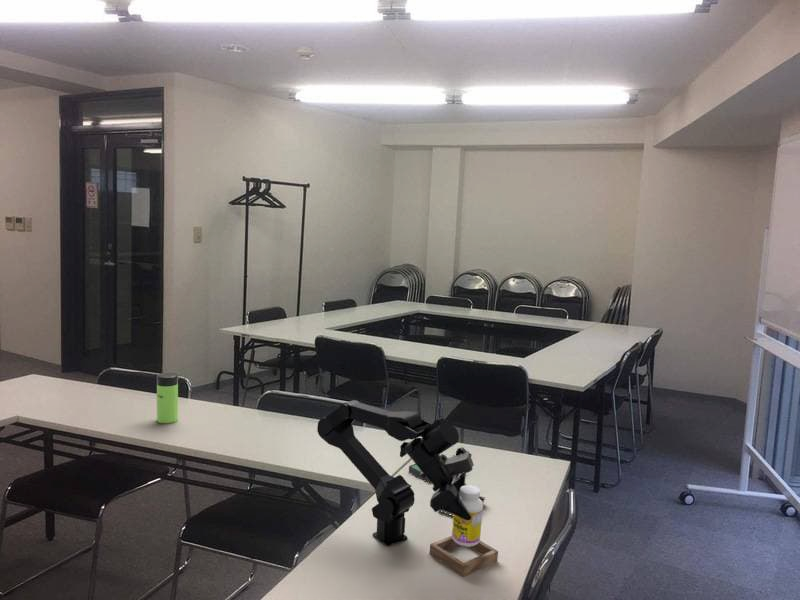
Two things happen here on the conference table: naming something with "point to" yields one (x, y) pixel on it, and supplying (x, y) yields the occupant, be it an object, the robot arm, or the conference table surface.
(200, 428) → the conference table surface
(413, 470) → the disk drive
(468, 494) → the supplement bottle
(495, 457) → the conference table surface
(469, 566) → the brown wooden square frame
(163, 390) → the tumbler
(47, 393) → the conference table surface
